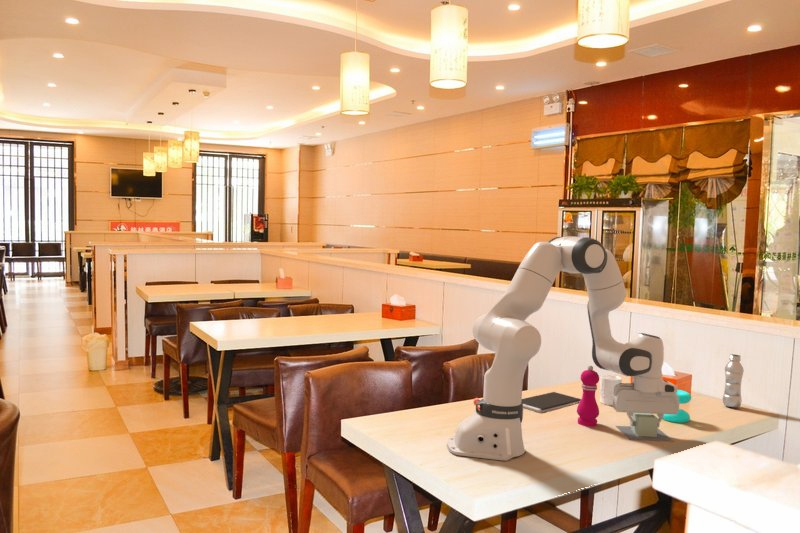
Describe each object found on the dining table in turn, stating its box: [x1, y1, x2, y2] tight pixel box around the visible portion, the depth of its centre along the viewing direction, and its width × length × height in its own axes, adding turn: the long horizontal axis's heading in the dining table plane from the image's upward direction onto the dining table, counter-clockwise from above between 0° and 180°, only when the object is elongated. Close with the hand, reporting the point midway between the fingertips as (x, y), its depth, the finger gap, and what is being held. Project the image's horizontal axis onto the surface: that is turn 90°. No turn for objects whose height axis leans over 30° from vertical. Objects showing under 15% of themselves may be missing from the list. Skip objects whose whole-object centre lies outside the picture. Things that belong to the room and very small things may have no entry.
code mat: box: [615, 425, 675, 443], centre depth 200 cm, size 14×14×1 cm
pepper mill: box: [576, 365, 600, 428], centre depth 207 cm, size 7×7×20 cm
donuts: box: [662, 389, 692, 424], centre depth 217 cm, size 10×10×10 cm
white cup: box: [599, 374, 623, 406], centre depth 235 cm, size 8×8×10 cm
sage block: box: [631, 413, 659, 437], centre depth 199 cm, size 6×6×6 cm
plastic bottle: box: [722, 353, 744, 409], centre depth 236 cm, size 6×7×20 cm
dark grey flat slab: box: [522, 391, 582, 414], centre depth 233 cm, size 13×27×2 cm, turn 131°
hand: (644, 426), depth 199 cm, fingers closed on sage block, 6 cm apart
